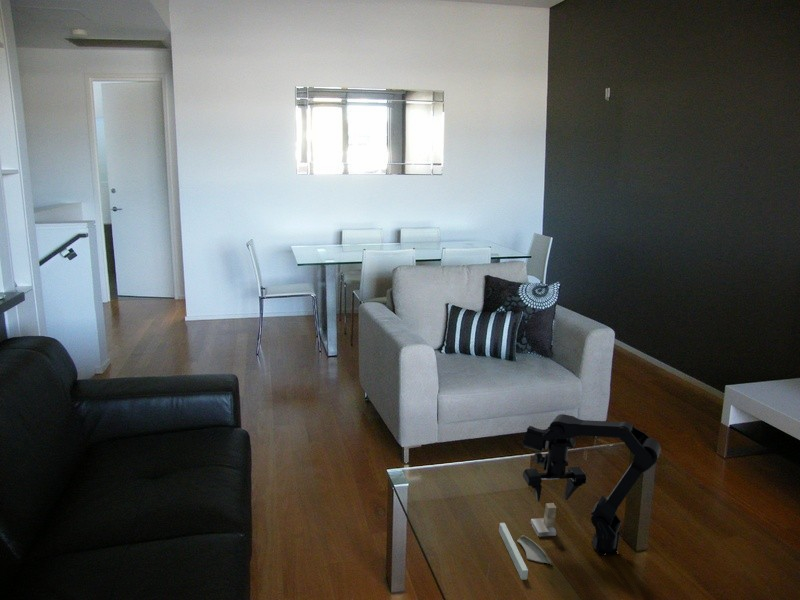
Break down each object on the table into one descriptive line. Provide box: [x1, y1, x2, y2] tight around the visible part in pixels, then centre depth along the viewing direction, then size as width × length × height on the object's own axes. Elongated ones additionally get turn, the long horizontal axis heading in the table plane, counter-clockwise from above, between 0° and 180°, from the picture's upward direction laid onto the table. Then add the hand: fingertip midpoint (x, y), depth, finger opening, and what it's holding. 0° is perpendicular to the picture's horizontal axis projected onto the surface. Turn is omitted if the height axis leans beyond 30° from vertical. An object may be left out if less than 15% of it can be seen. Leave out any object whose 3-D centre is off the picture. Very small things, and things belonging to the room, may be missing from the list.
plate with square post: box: [530, 502, 557, 537], centre depth 206 cm, size 6×7×9 cm
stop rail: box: [498, 522, 529, 581], centre depth 194 cm, size 2×22×3 cm, turn 9°
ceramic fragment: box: [516, 534, 554, 567], centre depth 194 cm, size 14×5×4 cm, turn 31°
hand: (551, 500), depth 204 cm, fingers open, 9 cm apart
